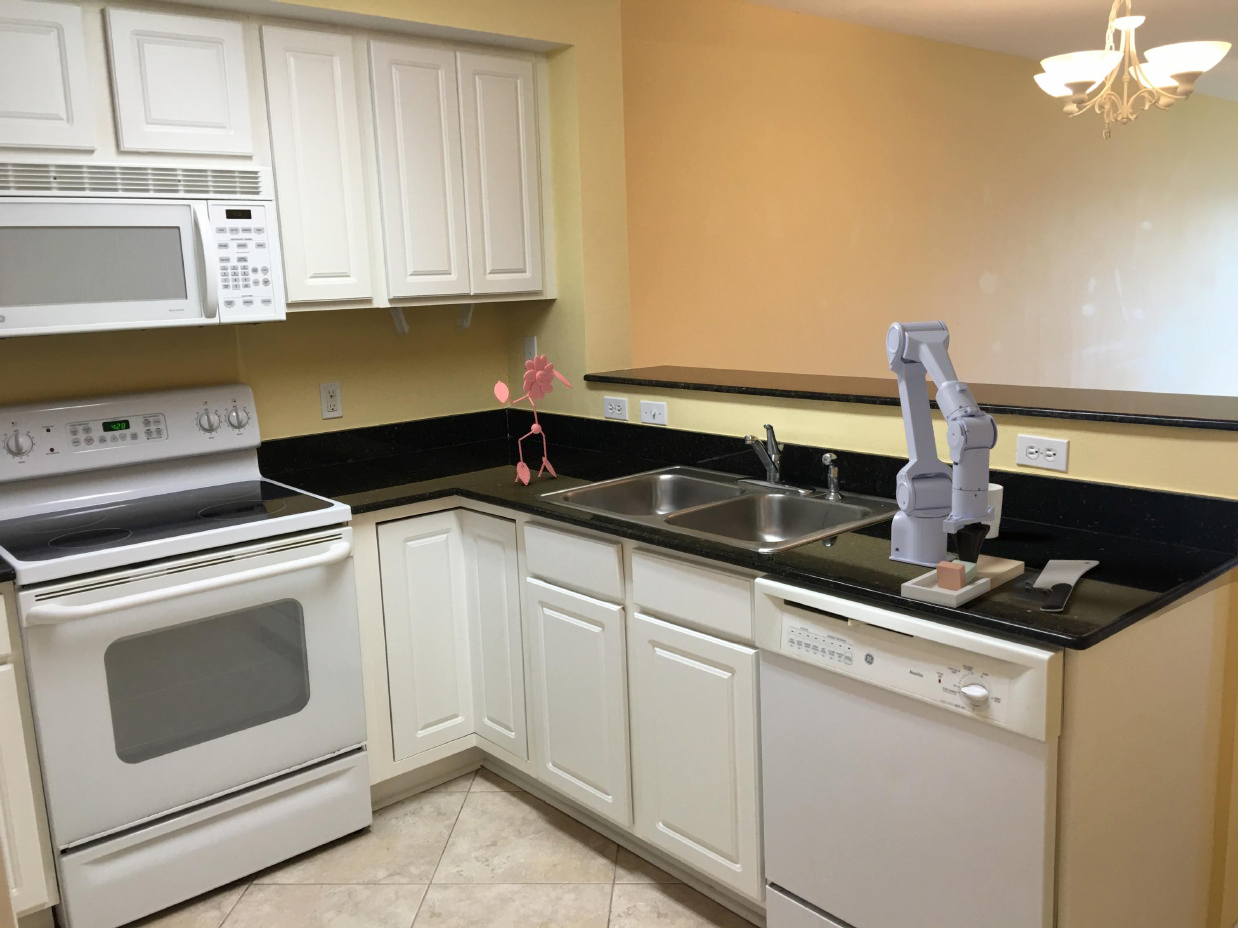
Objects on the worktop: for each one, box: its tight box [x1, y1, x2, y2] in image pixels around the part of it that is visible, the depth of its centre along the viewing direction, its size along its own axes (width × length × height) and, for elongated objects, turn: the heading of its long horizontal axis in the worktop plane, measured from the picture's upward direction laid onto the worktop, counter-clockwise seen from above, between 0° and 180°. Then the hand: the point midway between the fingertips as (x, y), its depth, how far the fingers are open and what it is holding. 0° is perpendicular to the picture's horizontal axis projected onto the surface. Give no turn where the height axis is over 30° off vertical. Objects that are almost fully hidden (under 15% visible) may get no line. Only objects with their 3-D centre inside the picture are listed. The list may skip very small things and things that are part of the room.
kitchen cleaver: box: [1032, 559, 1100, 615], centre depth 166 cm, size 31×2×10 cm
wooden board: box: [957, 553, 1025, 591], centre depth 172 cm, size 10×13×2 cm
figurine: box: [493, 354, 574, 487], centre depth 269 cm, size 15×26×35 cm, turn 140°
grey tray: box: [900, 568, 991, 609], centre depth 164 cm, size 10×12×2 cm
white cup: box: [981, 482, 1004, 540], centre depth 200 cm, size 8×8×10 cm
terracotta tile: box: [935, 561, 966, 591], centre depth 164 cm, size 4×4×2 cm
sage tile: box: [951, 559, 978, 584], centre depth 166 cm, size 4×4×2 cm
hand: (968, 566), depth 168 cm, fingers closed
